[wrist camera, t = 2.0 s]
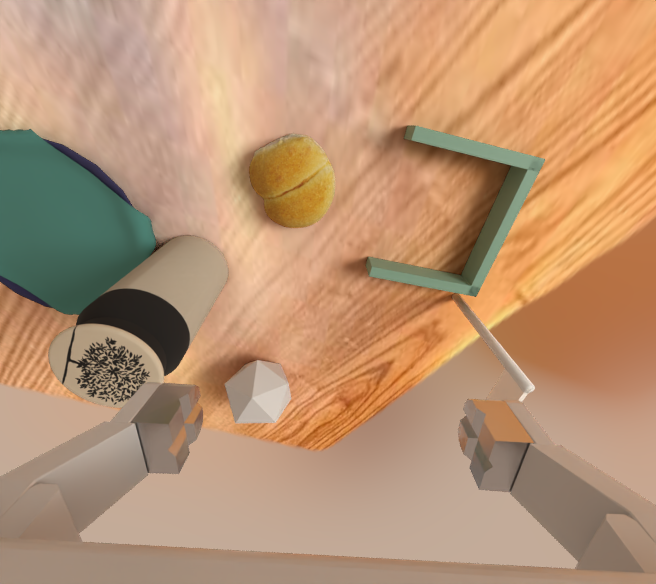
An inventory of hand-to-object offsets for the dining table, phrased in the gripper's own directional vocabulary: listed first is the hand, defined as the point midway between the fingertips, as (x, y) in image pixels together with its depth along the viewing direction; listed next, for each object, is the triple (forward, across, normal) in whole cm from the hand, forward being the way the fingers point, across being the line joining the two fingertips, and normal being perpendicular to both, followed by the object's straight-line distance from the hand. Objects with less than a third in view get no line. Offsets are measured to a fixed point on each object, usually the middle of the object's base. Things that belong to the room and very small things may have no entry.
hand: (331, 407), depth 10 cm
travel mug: (+28, +16, +5) cm, 33 cm away
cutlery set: (+27, +34, -2) cm, 44 cm away
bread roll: (+28, +5, -5) cm, 29 cm away
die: (+30, +9, +22) cm, 38 cm away
